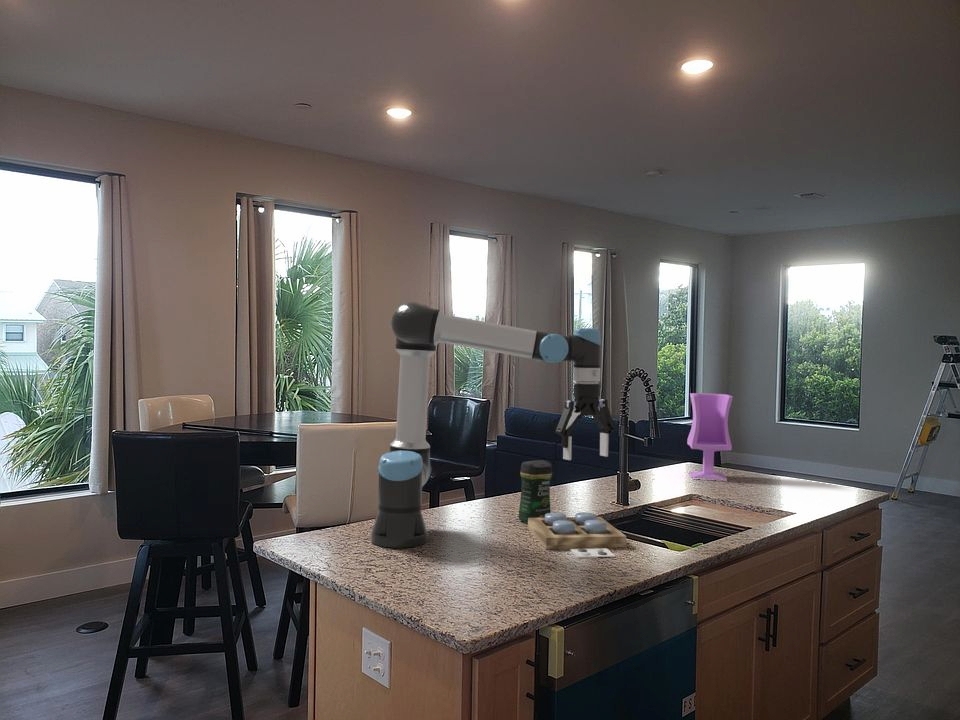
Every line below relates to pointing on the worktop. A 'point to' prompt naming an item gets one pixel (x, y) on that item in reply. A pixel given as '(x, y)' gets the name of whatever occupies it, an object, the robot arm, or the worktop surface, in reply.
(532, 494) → the coffee jar
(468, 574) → the worktop surface
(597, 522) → the button
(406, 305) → the robot arm
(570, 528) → the button
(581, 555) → the card
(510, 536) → the worktop surface
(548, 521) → the button
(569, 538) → the board
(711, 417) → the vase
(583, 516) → the button
